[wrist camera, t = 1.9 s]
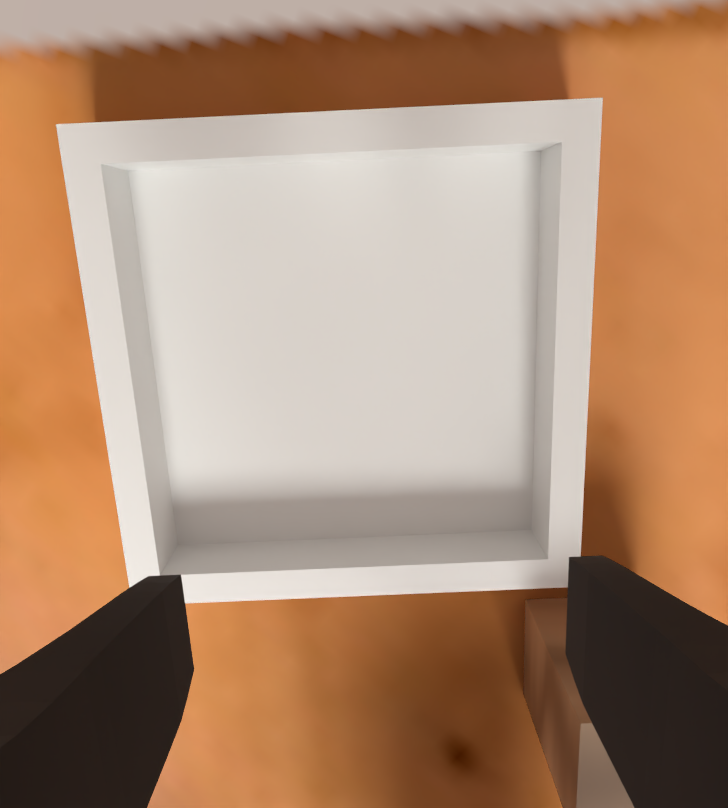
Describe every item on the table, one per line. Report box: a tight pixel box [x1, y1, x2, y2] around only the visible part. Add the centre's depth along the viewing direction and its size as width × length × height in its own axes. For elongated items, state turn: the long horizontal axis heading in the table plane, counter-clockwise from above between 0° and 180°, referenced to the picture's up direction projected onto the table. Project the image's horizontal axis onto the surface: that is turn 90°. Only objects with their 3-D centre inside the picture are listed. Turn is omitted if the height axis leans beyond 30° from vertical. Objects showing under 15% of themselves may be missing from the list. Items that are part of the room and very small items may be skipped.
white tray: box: [56, 98, 603, 603], centre depth 19 cm, size 14×14×2 cm
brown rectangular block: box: [523, 598, 634, 808], centre depth 20 cm, size 4×4×6 cm
